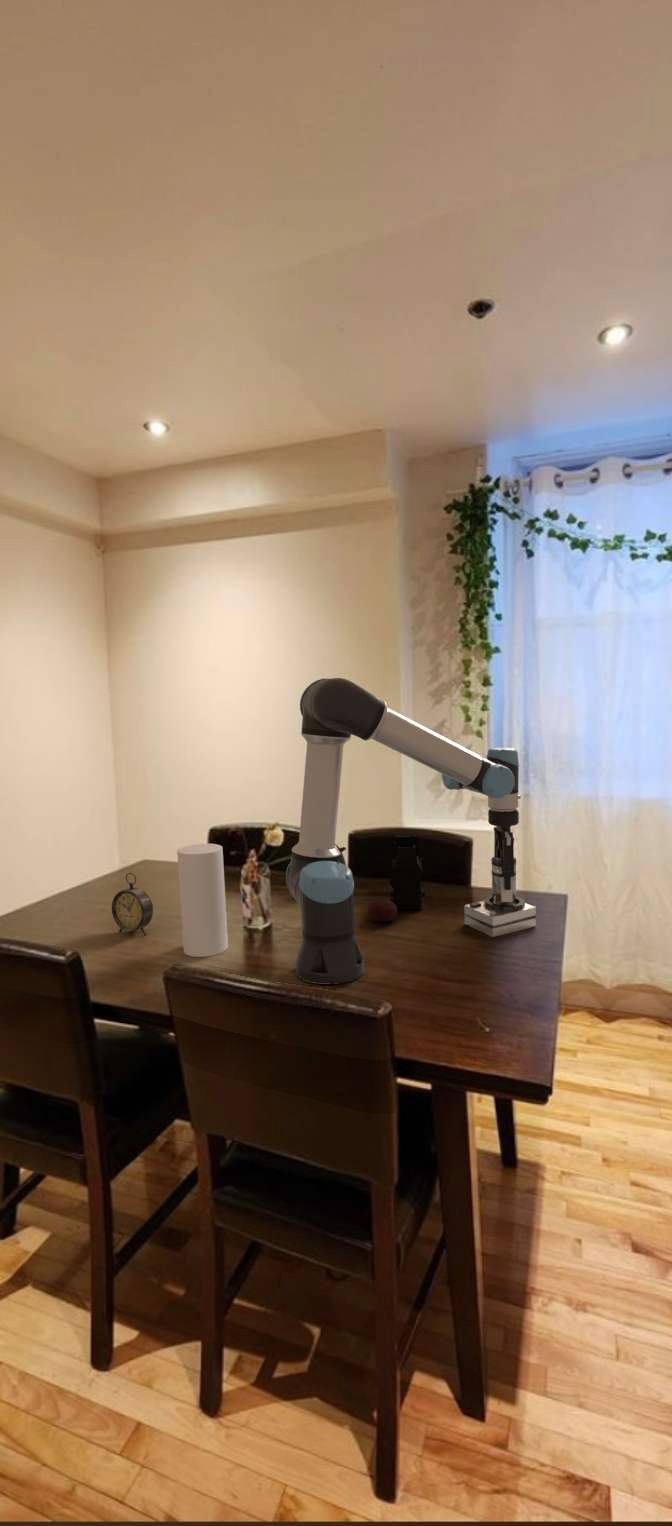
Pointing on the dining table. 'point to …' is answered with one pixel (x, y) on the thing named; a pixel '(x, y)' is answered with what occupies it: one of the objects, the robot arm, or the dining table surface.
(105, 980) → the dining table surface
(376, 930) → the dining table surface
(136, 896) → the alarm clock
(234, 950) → the dining table surface
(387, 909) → the potato
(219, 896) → the tall pillar cylinder
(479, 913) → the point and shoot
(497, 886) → the lens
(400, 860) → the camera
